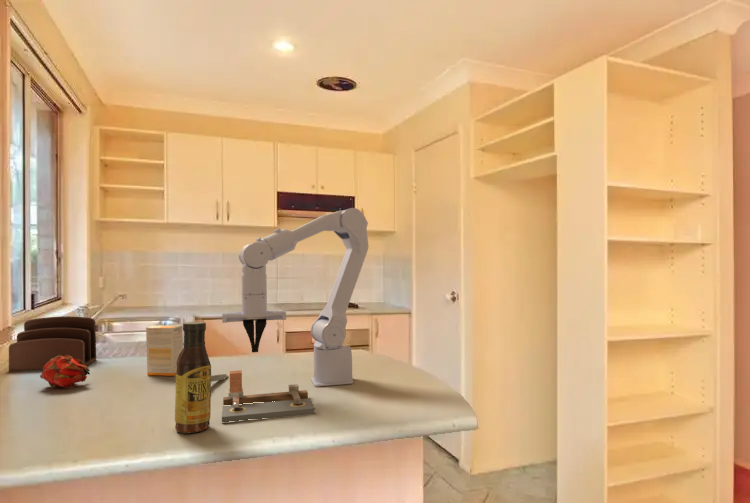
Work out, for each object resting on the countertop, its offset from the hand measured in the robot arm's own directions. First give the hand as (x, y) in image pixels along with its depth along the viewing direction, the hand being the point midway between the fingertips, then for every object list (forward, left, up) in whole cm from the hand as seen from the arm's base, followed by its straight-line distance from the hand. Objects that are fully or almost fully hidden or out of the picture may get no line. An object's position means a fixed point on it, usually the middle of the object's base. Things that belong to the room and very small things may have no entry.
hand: (255, 351), depth 117 cm
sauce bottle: (+12, +22, -10) cm, 27 cm away
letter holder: (+56, -47, -10) cm, 74 cm away
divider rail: (-2, +13, -9) cm, 16 cm away
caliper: (+11, -7, -10) cm, 16 cm away
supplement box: (+23, -25, -10) cm, 35 cm away
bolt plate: (-2, +17, -9) cm, 20 cm away
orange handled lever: (+4, +12, -8) cm, 15 cm away
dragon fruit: (+45, -19, -10) cm, 50 cm away
